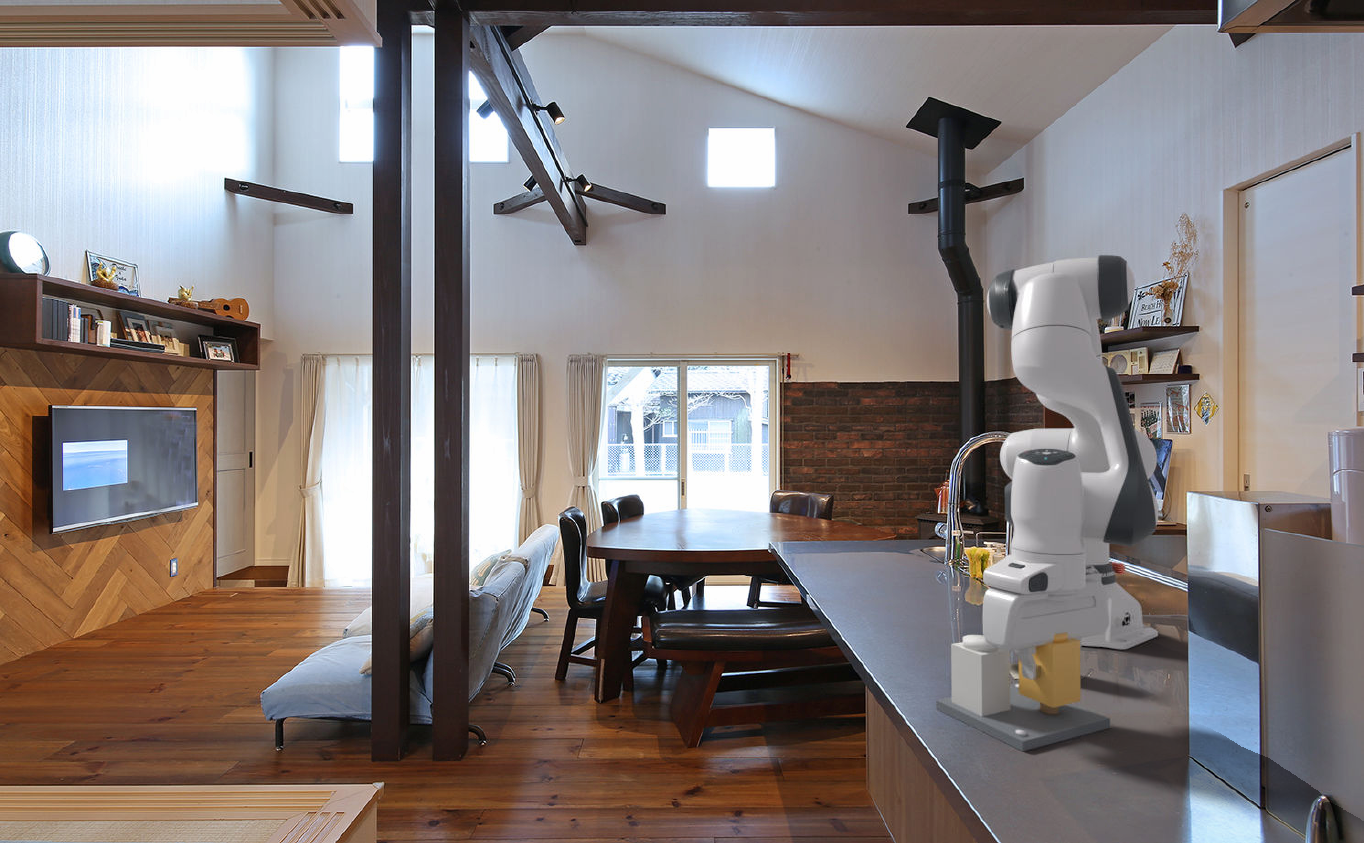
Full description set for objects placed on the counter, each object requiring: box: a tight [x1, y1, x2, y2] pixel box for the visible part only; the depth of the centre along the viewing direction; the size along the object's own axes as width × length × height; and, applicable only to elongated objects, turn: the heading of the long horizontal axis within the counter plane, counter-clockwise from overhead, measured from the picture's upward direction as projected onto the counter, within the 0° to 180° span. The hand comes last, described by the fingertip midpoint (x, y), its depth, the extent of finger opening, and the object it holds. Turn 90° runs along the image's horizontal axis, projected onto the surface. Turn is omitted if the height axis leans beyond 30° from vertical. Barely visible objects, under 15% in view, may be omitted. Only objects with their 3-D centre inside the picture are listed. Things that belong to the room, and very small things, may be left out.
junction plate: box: [935, 634, 1111, 752], centre depth 93 cm, size 16×14×10 cm
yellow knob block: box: [1018, 633, 1082, 708], centre depth 92 cm, size 5×5×9 cm
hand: (1048, 674), depth 92 cm, fingers closed on yellow knob block, 5 cm apart
